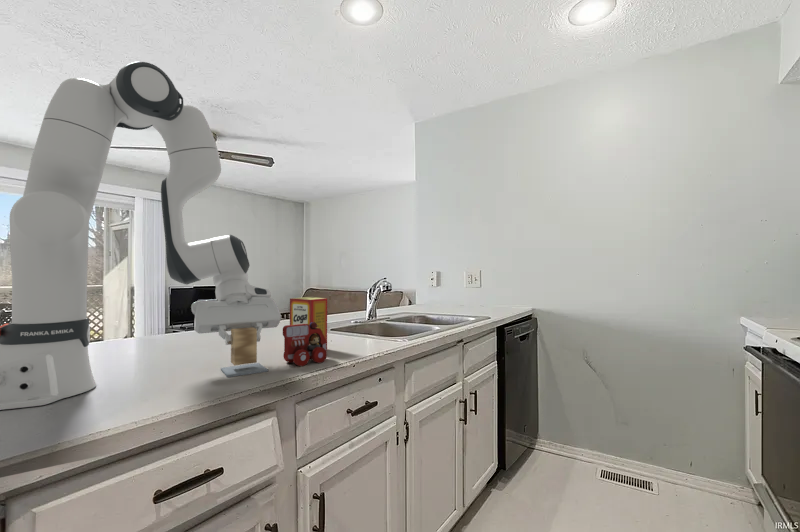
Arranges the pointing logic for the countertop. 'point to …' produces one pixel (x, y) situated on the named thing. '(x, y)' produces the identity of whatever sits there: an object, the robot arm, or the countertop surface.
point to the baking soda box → (309, 312)
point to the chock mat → (243, 369)
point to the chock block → (244, 346)
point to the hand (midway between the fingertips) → (243, 341)
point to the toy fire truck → (304, 344)
